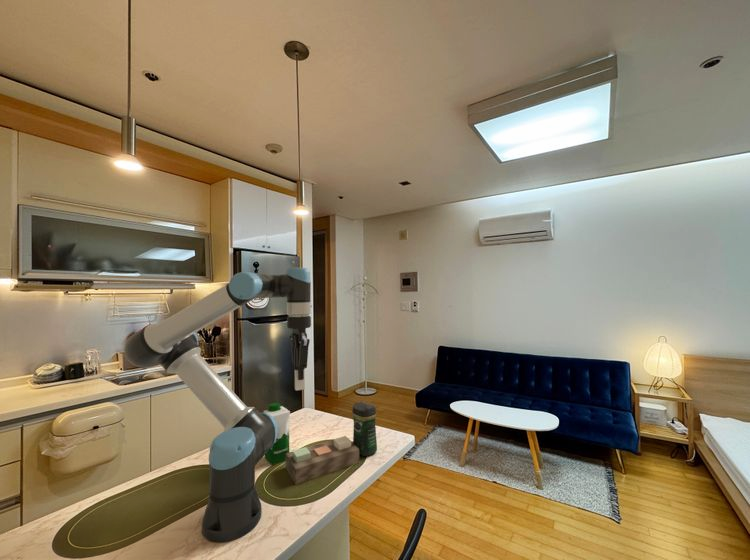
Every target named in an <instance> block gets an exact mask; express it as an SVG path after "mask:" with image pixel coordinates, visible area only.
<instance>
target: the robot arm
mask: <svg viewBox="0 0 750 560" xmlns="http://www.w3.org/2000/svg"><path fill="white" fill-rule="evenodd" d="M311 284H312V282H311V270H309V269H308V268H306V267H290V268H289V267H288V268H287V269H286V273H285V274H266V273H259V272H258V273H257V272H252V271H241V272H237V273H235V274H234V275H233V276H232V277H231V279H230V280H229V283H226V284H225V285H224V286H222V287H220V288H218V289H216V290H214V291H213V292H211V293H210V294H207V295H206V296H204V297H203V298H201V299H199V300H197V301H195V302H194V303H192V304H191V305H188V306H187V307H185V308H183V309H181V310H180V311H178V312H177V313H175V314H172V315H171V316H169V317H168V318H166V319H164V320H161V322H159V323H150V324H148V325H146V326H144V327H142V328H141V329H139V330H138V331H136V332H134V333H133V334H132V335H130V337H129V338H128V339H127V340H126V342H125V344H124V351H123V353H124V356H125V359H126V360H127V361H128V362H129V363H130V364H131V365H133V366H135V367H138V368H142V369H147V368H148V369H149V368H154V367H158V366H161V367H162V368H163V369H164V371H166V373H168V374H175V375H177V377H178V378H179V379H180V380H181V381H182V382H183V383H184V384H185V386H186V387H187V388H188V389H189V390H190V391H191V392H192V394H193V395H194V396H195V397H196V398H197V399H198V400H199V401H200V402H201V403H202V404H203V405H204V406H205V408H206V409H207V410H208V411H209V412H210V414H212V415H213V417H214V418H215V419H216V420H217V421H218V423H220V425H222V427H223V429H224V430H223V432H220V433H219V434H217V436H216V437H214V439H213V440H211V444H210V446H209V453H208V464H209V465H208V468H209V469H208V470H209V471H208V472H209V473H208V476H209V478H208V480H209V481H208V483H209V486H208V487H209V489H208V490H209V491H208V492H209V495H208V496H209V497H208V502H207V505H206V508H205V511H204V514H203V516H202V520H201V534H202V536H203V537H204V539H206V540H208V541H210V542H214V543H224V542H229V541H233V540H236V539H238V538H239V539H240V538H241V537H242V536H245V535H246V534H247V533H249V532H251V531H252V530H253V529H254V528H255V527H256V526H257V525H258V524H259V522H260V520H261V518H262V511H263V510H262V503H261V500H260V497H259V494H258V491H257V489H256V466H257V465H258V463H259V462H260V461H261V460H262V459H263V457H265V454H266V453H267V452H268V451H269V450H270V449H271V448H272V446H273V444H274V442H275V441H276V438H277V435H278V427H277V423H276V421H275V419H274V418H273V417H272V416H271V415H269V414H267V413H264V412H259V410H258V409H257V408H256V407H254V406H247V405H246V404H245V403H244V402H243V401H242V400H241V398H239V396H238V395H237V394H236V393H235V392H234V391H233V389H232V388H230V386H229V385H228V384H227V383H226V382H225V380H223V378H222V377H221V376H220V375H219V374H218V373H217V372H216V371H215V370H214V368H213V367H211V365H210V364H209V363H208V362H207V361H206V360H205V359H204V358H203V357H202V355H201V353H202V348H201V347H200V346H199V337H198V335H197V332H200V331H201V330H202V329H204V328H206V327H207V326H210V325H211V324H213V323H214V322H216V321H218V320H220V319H222V318H223V317H225V316H227V315H228V314H230V313H232V312H234V311H235V310H237V309H239V308H240V307H243V306H244V305H246V304H248V303H249V302H251V301H253V300H255V299H274V298H275V299H277V298H286V315H287V317H286V327H287V329H290V330H292V333H291V334H290V336H289V340H290V350H291V352H290V353H291V363H292V364H291V365H292V366H293V370H294V390H295V391H302V390H305V369H306V368H308V358H309V355H308V354H309V346H310V341H311V340H310V338H308V333H307V329H309V328H311V327H312V317H311V315H310V314H311V313H312V311H311V310H312V309H311V308H312V307H313V306H312V304H311V297H312V296H311V295H312V294H311V290H312V289H311V286H312V285H311Z"/></svg>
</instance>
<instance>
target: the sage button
mask: <svg viewBox="0 0 750 560" xmlns="http://www.w3.org/2000/svg"><path fill="white" fill-rule="evenodd" d="M291 452H292V458H293V460H294V461H295V462H296V463H299V462H303V461H306V460H309V459H311V453H310V451H309V450H308V449H307V446H304V447H301V448H298V449H297V448H296V449H294V450H292V451H291Z"/></svg>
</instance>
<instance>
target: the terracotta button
mask: <svg viewBox="0 0 750 560" xmlns="http://www.w3.org/2000/svg"><path fill="white" fill-rule="evenodd" d="M314 452H315V453H316V455H317V456H318V457H319V456H322V455H326V454H329V453H332V451H331V450H330V449H329V448H328V447H327V445H326V446H323V447H319V448H316V449H314Z"/></svg>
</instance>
